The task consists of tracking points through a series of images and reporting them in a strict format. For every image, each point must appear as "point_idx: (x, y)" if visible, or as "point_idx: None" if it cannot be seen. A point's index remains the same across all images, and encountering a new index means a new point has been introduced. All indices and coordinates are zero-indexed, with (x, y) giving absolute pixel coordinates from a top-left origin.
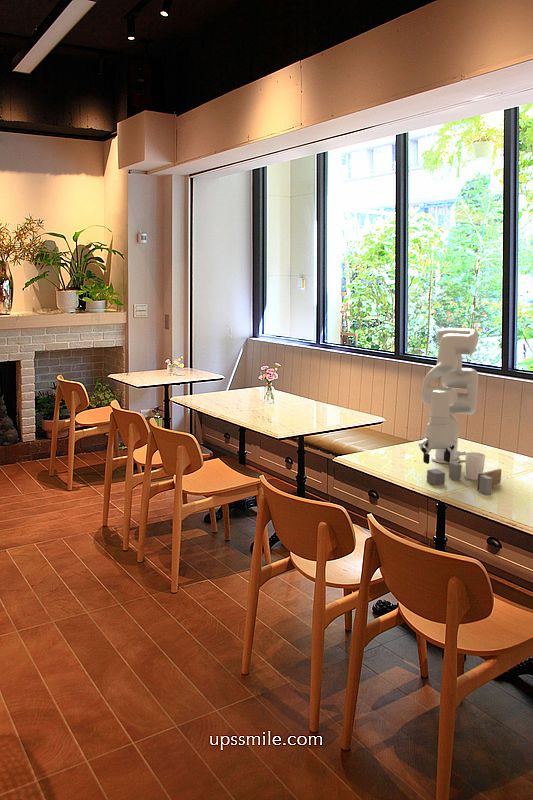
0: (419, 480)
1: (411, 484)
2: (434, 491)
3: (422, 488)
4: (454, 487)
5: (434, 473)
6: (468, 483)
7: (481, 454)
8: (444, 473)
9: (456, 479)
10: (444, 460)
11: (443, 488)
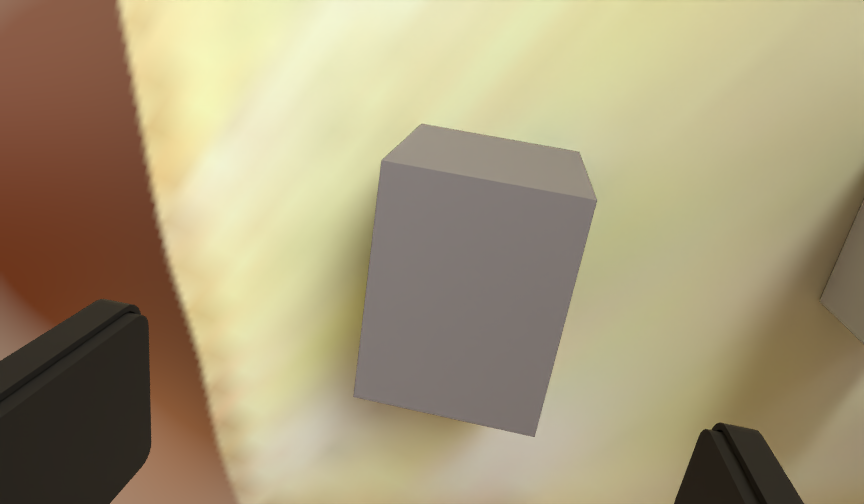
0: (355, 36)
1: (151, 132)
2: (253, 442)
3: (192, 313)
4: (549, 466)
5: (357, 367)
6: (843, 459)
7: None
8: (523, 426)
9: (837, 310)
10: (695, 453)
11: (408, 427)
